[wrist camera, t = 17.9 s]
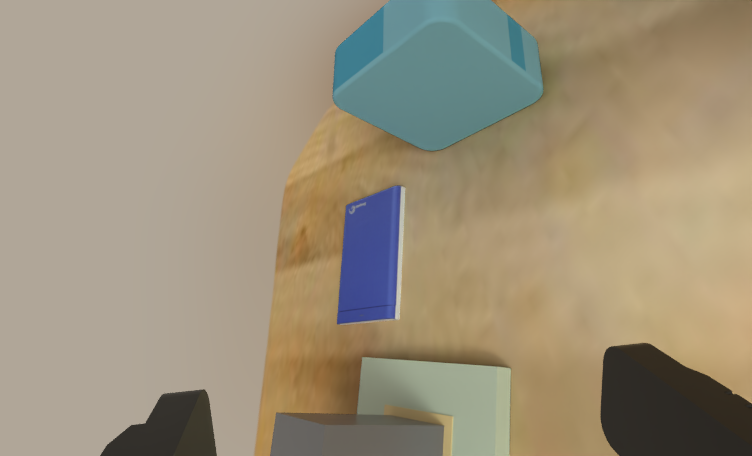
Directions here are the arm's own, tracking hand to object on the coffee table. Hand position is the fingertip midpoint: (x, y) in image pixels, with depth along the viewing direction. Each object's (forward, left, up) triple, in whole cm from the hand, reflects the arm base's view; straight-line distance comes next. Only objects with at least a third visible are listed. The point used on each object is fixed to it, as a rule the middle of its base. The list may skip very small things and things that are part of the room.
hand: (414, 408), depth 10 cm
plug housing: (+5, -20, -20) cm, 28 cm away
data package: (-23, -16, -22) cm, 35 cm away
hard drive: (-11, -28, -22) cm, 38 cm away
